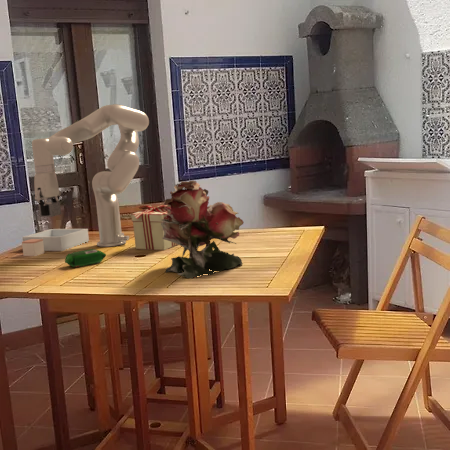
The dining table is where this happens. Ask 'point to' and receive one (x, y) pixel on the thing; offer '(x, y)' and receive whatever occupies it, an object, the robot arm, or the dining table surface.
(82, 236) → the tote
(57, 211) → the block
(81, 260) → the snack package
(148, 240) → the gift box
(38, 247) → the orange and beige cube
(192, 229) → the rose bouquet
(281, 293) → the dining table surface
